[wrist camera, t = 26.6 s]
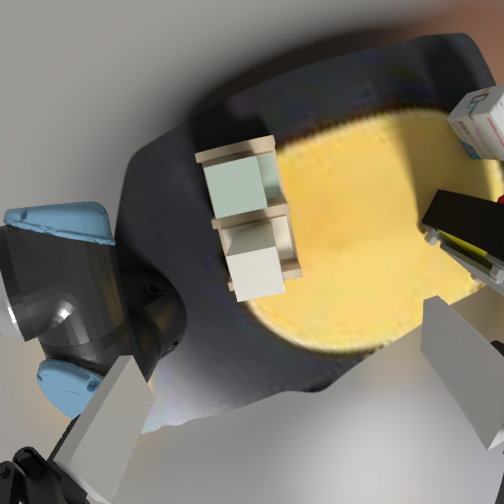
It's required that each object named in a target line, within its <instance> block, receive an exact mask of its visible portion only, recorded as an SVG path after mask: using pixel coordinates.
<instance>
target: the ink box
mask: <svg viewBox="0 0 504 504" xmlns="http://www.w3.org/2000/svg"><path fill="white" fill-rule="evenodd" d="M446 121H447V122H448V124H449V125H450V126H451V128H452V129H453V131H454V132H455V133H456V135H457V136H458V138H459V139H460V141H461V142H462V144H463V145H464V147H465V148H466V150H467V151H468V153H469V154H470V156H471V158H472V159H490V160H504V84H502V85H498V86H493V87H489V88H486V89H482V90H478V91H474V92H471V93H467V94H466V95H465V96H464V97H463V99H462V100H461V101H460V102H459V103H458V105H457V106H456V107H455V108H454V110H453V111H452V112H451V113H450V115H449V116H448V117H447V118H446Z"/></svg>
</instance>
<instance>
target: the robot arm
mask: <svg viewBox="0 0 504 504" xmlns="http://www.w3.org/2000/svg"><path fill="white" fill-rule="evenodd" d="M3 221H4V223H6V225H4V226H1V227H0V335H2V334H6V335H9V336H11V337H13V338H15V339H17V340H19V341H21V342H26V341H29V340H31V339H33V338H36V337H38V339H39V342H40V344H41V346H42V349H43V351H44V354H45V356H46V360H44V361H42V362H41V363H40V365H39V369H38V373H37V380H38V383H39V386H40V388H41V390H42V391H43V393H44V394H45V396H46V397H47V398H48V399H49V400H50V402H51V403H52V404H54V406H55V407H56V408H58V409H59V410H60V411H61V412H62V413H64V414H65V415H67V416H68V417H70V418H71V419H73V420H72V421H71V422H70V424H69V425H68V427H67V429H66V431H65V432H64V434H63V435H62V438H60V440H59V441H58V443H57V445H56V446H55V448H54V450H53V451H52V453H51V455H50V456H49V458H48V459H47V461H45V459H44V458H43V457H41V455H40V454H39V453H38V452H37V451H36V450H35V449H34V448H33V447H29V446H28V447H24V448H21V449H20V450H18V451H17V452H16V453H15V455H14V457H13V461H12V462H10V461H5V462H2V463H0V504H19V501H20V502H21V503H22V504H90V503H89V501H88V500H87V499H86V496H87V494H89V495H90V496H91V497H92V498H94V499H95V500H96V501H99V502H103V503H107V504H112V503H113V500H114V497H115V495H116V492H117V490H118V487H119V485H120V482H121V479H122V477H123V474H124V472H125V469H126V467H127V464H128V462H129V459H130V457H131V454H132V452H133V449H134V447H135V444H136V442H137V440H138V437H139V435H140V432H141V430H142V427H143V425H144V423H145V420H146V418H147V415H148V413H149V411H150V408H151V406H152V404H153V401H154V399H155V397H154V396H153V394H152V392H151V390H150V388H149V386H148V385H147V383H148V381H149V379H150V377H151V375H152V373H153V371H154V369H155V367H156V365H157V363H158V361H159V360H160V359H162V358H163V357H164V356H166V355H167V354H169V353H170V352H171V351H173V350H174V349H175V348H176V347H177V346H178V344H179V343H180V341H181V339H182V337H183V335H184V332H185V330H186V325H187V314H186V310H185V306H184V304H183V302H182V300H181V298H180V296H179V294H178V293H177V292H176V290H175V289H174V288H173V287H172V286H171V285H170V284H169V283H168V282H166V281H165V280H164V279H162V278H161V277H159V276H157V275H155V274H153V273H150V272H146V271H141V270H130V271H126V272H123V273H119V267H118V262H117V257H116V251H115V245H116V243H115V240H114V239H113V237H112V233H111V228H110V223H109V218H108V214H107V212H106V210H105V208H104V207H103V206H102V205H100V204H99V203H96V202H79V203H66V204H55V205H44V206H35V207H26V208H16V209H8V210H7V211H6V212H5V216H4V219H3ZM420 350H421V352H422V353H423V354H424V356H425V357H426V359H427V360H428V361H429V363H430V364H431V366H432V367H433V368H434V370H435V371H436V373H437V374H438V375H439V377H440V378H441V380H442V381H443V383H444V384H445V385H446V387H447V388H448V390H449V391H450V393H451V394H452V396H453V397H454V399H455V400H456V402H457V403H458V404H459V406H460V408H461V409H462V411H463V412H464V414H465V415H466V417H467V418H468V420H469V422H470V423H471V425H472V426H473V428H474V430H475V431H476V433H477V435H478V436H479V438H480V439H481V441H482V443H483V444H484V446H485V448H486V449H487V451H488V450H489V449H491V448H493V447H495V446H496V445H498V444H499V443H501V442H502V441H503V440H504V344H503V343H501V342H499V341H497V340H495V341H493V342H491V343H489V342H488V341H487V340H486V339H485V338H484V337H483V336H482V335H481V334H480V333H479V332H478V331H477V330H476V329H475V328H473V327H472V326H471V325H470V324H469V323H468V322H467V321H466V320H465V319H464V318H463V317H461V316H460V315H459V314H458V313H457V312H456V311H455V310H454V309H453V308H452V307H450V306H449V305H448V304H447V303H446V302H445V301H444V300H442V299H441V298H440V297H439V296H438V295H437V296H434V297H431V298H428V299H425V300H424V302H423V324H422V339H421V349H420ZM503 454H504V452H503ZM495 504H504V475H503V478H502V482H501V486H500V489H499V493H498V496H497V499H496V502H495Z"/></svg>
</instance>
